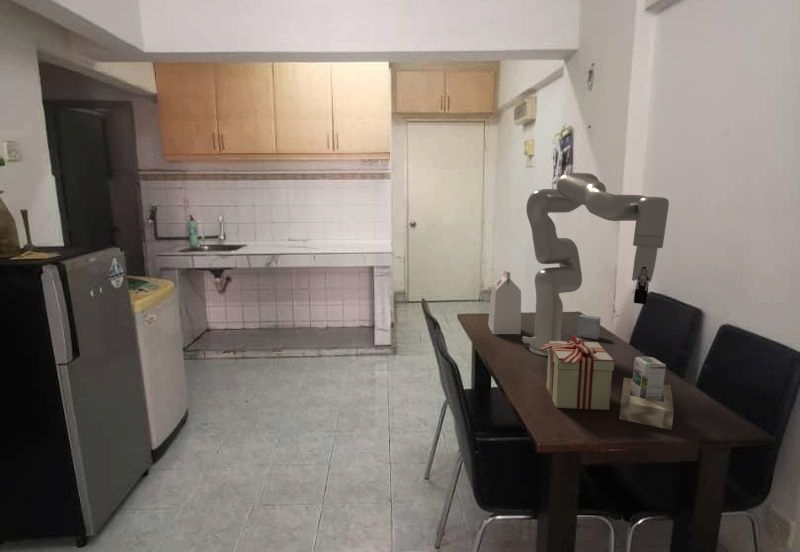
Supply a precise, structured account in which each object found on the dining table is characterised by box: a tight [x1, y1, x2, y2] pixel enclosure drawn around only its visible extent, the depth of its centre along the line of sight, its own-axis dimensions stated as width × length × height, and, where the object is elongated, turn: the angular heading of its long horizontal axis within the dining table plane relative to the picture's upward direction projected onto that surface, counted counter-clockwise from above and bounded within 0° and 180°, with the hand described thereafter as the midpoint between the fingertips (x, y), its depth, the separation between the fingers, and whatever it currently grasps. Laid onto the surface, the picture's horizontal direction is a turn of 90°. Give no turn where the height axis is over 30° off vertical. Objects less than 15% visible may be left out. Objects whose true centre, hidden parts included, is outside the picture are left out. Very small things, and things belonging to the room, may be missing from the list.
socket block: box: [619, 377, 675, 431], centre depth 127 cm, size 12×18×5 cm, turn 152°
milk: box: [487, 269, 522, 335], centre depth 197 cm, size 12×12×26 cm
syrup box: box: [630, 356, 667, 401], centre depth 127 cm, size 6×6×14 cm
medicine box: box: [576, 314, 601, 340], centre depth 191 cm, size 8×4×9 cm, turn 57°
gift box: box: [539, 335, 615, 411], centre depth 133 cm, size 17×18×17 cm
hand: (640, 299), depth 135 cm, fingers open, 9 cm apart
